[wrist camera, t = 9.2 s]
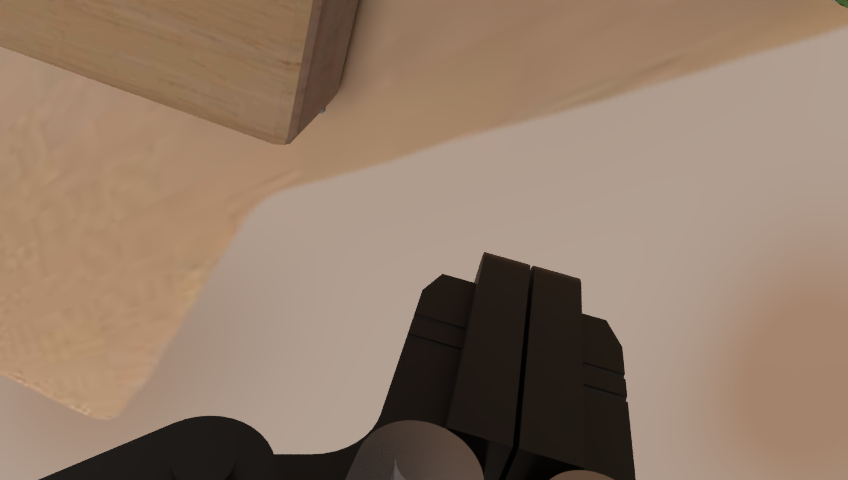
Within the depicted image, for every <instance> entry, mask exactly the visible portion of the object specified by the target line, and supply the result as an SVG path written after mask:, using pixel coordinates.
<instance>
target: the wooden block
mask: <svg viewBox="0 0 848 480" xmlns="http://www.w3.org/2000/svg"><path fill="white" fill-rule="evenodd" d="M357 4H358V0H0V46H1V47H4V48H7V49H9V50H12V51H15V52H18V53H21V54H23V55H26V56H29V57H32V58H35V59H37V60H40V61H43V62H46V63H48V64H51V65H54V66H57V67H60V68H62V69H65V70H68V71H71V72H74V73H76V74H79V75H82V76H85V77H88V78H90V79H93V80H96V81H99V82H102V83H104V84H107V85H110V86H113V87H116V88H118V89H121V90H124V91H127V92H130V93H132V94H135V95H138V96H141V97H143V98H146V99H149V100H152V101H155V102H157V103H160V104H163V105H166V106H169V107H171V108H174V109H177V110H180V111H183V112H185V113H188V114H191V115H194V116H197V117H199V118H202V119H205V120H208V121H211V122H213V123H216V124H219V125H222V126H225V127H227V128H230V129H233V130H236V131H238V132H241V133H244V134H247V135H250V136H252V137H255V138H258V139H261V140H264V141H266V142H269V143H272V144H280V145H286V144H290V143H291V142H292V141H293V140H294V139H295V138H296V137H297V136H298V135H299V134H300V132H301V131H302V130H303V129H304V128H305V127H306V126H307V125H308V124H309V123H310V122H311V121H312V120H313V119H314V118H315V117H316V116H317V115H318V114H319V113H320V112H321V111H322V110H323V109H324V108H325V107H326V105H327V104H328V103H329V102H330V101H331V100H332V99H333V98H334V96H335V95H336V94H337V92H338V89H339V84H340V80H341V75H342V71H343V67H344V62H345V58H346V53H347V49H348V44H349V40H350V35H351V31H352V27H353V22H354V18H355V13H356V9H357Z"/></svg>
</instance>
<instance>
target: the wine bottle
mask: <svg viewBox="0 0 848 480" xmlns="http://www.w3.org/2000/svg"><path fill="white" fill-rule="evenodd" d="M833 1H834V2H836V3H838V4H840V5H842V6H845V7H847V8H848V0H833Z"/></svg>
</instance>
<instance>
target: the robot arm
mask: <svg viewBox="0 0 848 480" xmlns="http://www.w3.org/2000/svg"><path fill="white" fill-rule="evenodd" d="M624 374H625V371H624V361H623V351H622V346H621V344H620V343H619V341H618V339H617V338H616V336H615V335H614V333H613V331H612V329H611V328H610V326H609V324H608V323H607V321H606V320H603V319H600V318H596V317H592V316H589V315H585V314H582V303H581V281H580V279H579V278H575V277H571V276H568V275H564V274H561V273H558V272H554V271H550V270H547V269H543V268H540V267H536V266H533V267H532V268H531V270H530V265H528V264H525V263H521V262H518V261H514V260H511V259H507V258H504V257H500V256H496V255H493V254H489V253H486V252H484V254H483V256H482V259H481V262H480V265H479V269H478V272H477V275H476V278H475V282H474V283H473V282H469V281H466V280H462V279H459V278H455V277H452V276H448V275H444V274H442V275H441V276H439V277H438V278H437V279H436V280H434V281H433V282H432V283H431V284H430V285H428V286H427V287H426V288H425V289H423V290H422V293H421V296H420V299H419V302H418V305H417V308H416V311H415V315H414V318H413V320H412V323H411V326H410V329H409V332H408V335H407V338H406V341H405V344H404V347H403V350H402V353H401V356H400V359H399V362H398V365H397V368H396V371H395V373H394V377H393V380H392V382H391V385H390V388H389V391H388V394H387V397H386V400H385V403H384V406H383V409H382V412H381V415H380V417H379V419H378V421H377V423H376V424H375V426H374V428H373V429H372V430H371V431H370V432H369V433H368V434H367V435H366V436H365V437H364V438H362V439H361V440H359V441H358V442H357V443H355V444H353V445H351V446H349V447H347V448H344V449H341V450H338V451H335V452H330V453H325V454H312V455H310V454H306V455H304V454H302V455H301V454H295V455H294V454H293V455H292V454H285V455H284V454H279V455H278V454H276V455H275V454H273V451H272V449H271V447H270V445H269V444H268V442H267V441H266V439H265V438H264V437H263V436H262V435H261V434H260V433H259V432H258V431H256V430H255V429H254V428H252V427H251V426H249V425H247V424H245V423H243V422H241V421H238V420H235V419H232V418H226V417H221V416H201V417H194V418H189V419H184V420H182V421H179V422H176V423H173V424H171V425H168V426H166V427H163V428H161V429H159V430H156V431H154V432H152V433H149V434H147V435H144V436H142V437H140V438H137V439H135V440H132V441H130V442H128V443H125V444H123V445H121V446H118V447H116V448H113V449H111V450H109V451H106V452H104V453H101V454H99V455H97V456H94V457H92V458H89V459H87V460H85V461H82V462H80V463H78V464H75V465H73V466H71V467H68V468H66V469H63V470H61V471H59V472H56V473H54V474H51V475H49V476H47V477H44V478H42V479H39V480H636V479H635V469H634V459H633V450H632V440H631V430H630V420H629V410H628V402H626V398H627V390H626V382H625V379H624Z"/></svg>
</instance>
